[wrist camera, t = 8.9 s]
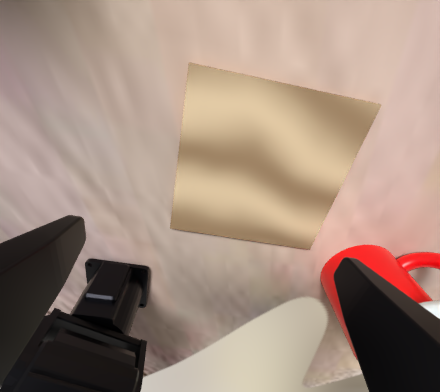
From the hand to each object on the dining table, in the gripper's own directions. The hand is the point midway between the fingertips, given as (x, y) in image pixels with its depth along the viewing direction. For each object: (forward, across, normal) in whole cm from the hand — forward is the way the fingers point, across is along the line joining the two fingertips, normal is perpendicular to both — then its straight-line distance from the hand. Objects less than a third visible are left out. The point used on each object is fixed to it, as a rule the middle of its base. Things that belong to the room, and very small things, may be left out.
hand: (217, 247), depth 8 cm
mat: (+12, -4, +2) cm, 13 cm away
